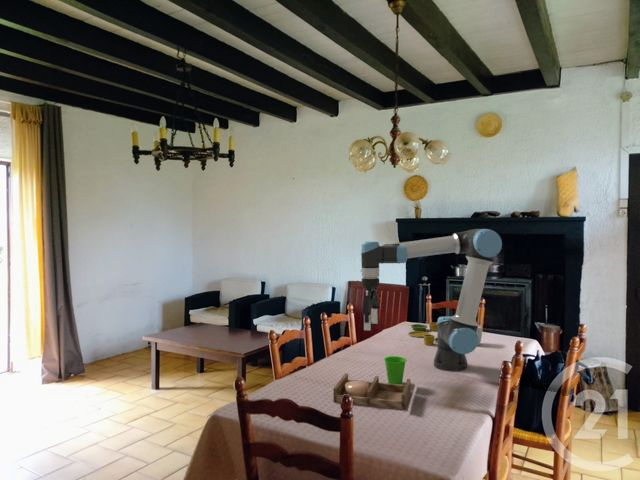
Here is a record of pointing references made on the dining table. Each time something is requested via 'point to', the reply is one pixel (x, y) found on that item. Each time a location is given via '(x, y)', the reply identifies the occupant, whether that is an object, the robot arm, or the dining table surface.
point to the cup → (395, 369)
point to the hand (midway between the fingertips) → (370, 326)
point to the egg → (356, 388)
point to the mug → (479, 334)
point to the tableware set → (425, 333)
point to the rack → (377, 394)
